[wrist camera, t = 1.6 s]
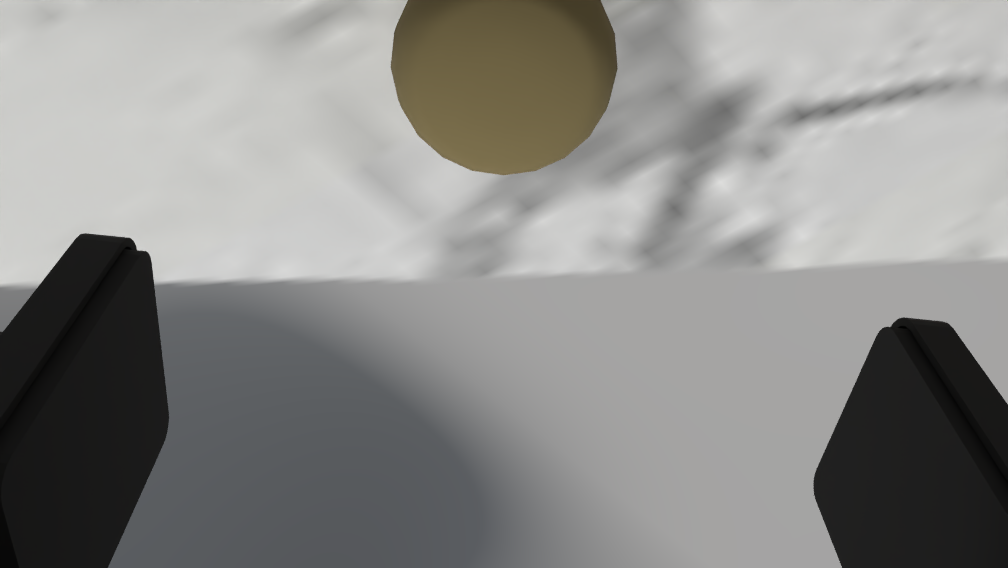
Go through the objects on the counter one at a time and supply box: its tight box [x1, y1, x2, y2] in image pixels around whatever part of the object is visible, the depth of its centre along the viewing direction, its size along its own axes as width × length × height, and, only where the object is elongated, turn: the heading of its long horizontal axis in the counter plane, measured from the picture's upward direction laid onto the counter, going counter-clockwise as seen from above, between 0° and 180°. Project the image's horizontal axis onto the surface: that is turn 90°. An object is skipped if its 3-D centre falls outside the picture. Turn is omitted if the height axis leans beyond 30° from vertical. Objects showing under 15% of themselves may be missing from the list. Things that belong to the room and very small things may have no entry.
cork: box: [391, 0, 617, 175], centre depth 24 cm, size 6×6×11 cm
